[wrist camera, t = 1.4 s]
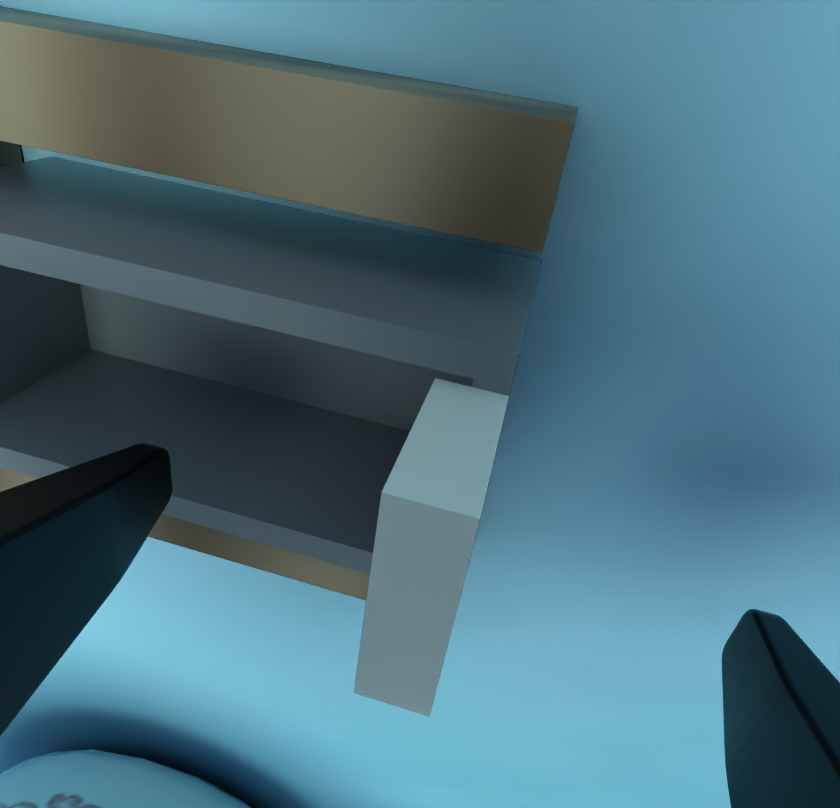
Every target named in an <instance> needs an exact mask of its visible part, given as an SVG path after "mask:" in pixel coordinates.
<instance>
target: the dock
mask: <svg viewBox="0 0 840 808" xmlns="http://www.w3.org/2000/svg"><path fill="white" fill-rule="evenodd" d="M577 109H578V107H573V106H568V105H562V104H556V103H550V102H545V101H539V100H533V99H528V98H522V97H516V96H510V95H505V94H499V93H493V92H487V91H482V90H476V89H470V88H465V87H459V86H453V85H447V84H442V83H436V82H430V81H425V80H419V79H413V78H407V77H402V76H396V75H390V74H384V73H379V72H373V71H367V70H362V69H356V68H350V67H344V66H339V65H333V64H327V63H321V62H316V61H310V60H304V59H299V58H293V57H287V56H281V55H276V54H270V53H264V52H258V51H253V50H247V49H241V48H236V47H230V46H224V45H218V44H213V43H207V42H201V41H196V40H190V39H184V38H178V37H173V36H167V35H161V34H155V33H150V32H144V31H138V30H133V29H127V28H121V27H115V26H110V25H104V24H98V23H92V22H87V21H81V20H75V19H70V18H64V17H58V16H52V15H47V14H41V13H35V12H29V11H24V10H18V9H12V8H7V7H1V6H0V167H4V166H9V165H14V164H19V163H23V159H22V154H21V149H20V145H25V146H29V147H34V148H39V149H44V150H49V151H53V152H58V153H63V154H68V155H73V156H78V157H82V158H87V159H92V160H97V161H102V162H107V163H111V164H116V165H121V166H126V167H131V168H135V169H140V170H145V171H150V172H155V173H160V174H164V175H169V176H174V177H179V178H184V179H188V180H193V181H198V182H203V183H208V184H213V185H217V186H222V187H227V188H232V189H237V190H242V191H246V192H251V193H256V194H261V195H266V196H270V197H275V198H280V199H285V200H290V201H295V202H299V203H304V204H309V205H314V206H319V207H323V208H328V209H333V210H338V211H343V212H348V213H352V214H357V215H362V216H367V217H372V218H377V219H381V220H386V221H391V222H396V223H401V224H405V225H410V226H415V227H420V228H425V229H430V230H434V231H439V232H444V233H449V234H454V235H458V236H463V237H468V238H473V239H478V240H483V241H487V242H492V243H497V244H502V245H507V246H512V247H516V248H521V249H526V250H531V251H536V252H540V253H542V251H543V247H544V243H545V239H546V235H547V231H548V227H549V223H550V219H551V215H552V211H553V207H554V203H555V199H556V195H557V191H558V187H559V183H560V178H561V174H562V170H563V166H564V162H565V158H566V154H567V150H568V146H569V142H570V138H571V134H572V130H573V126H574V122H575V117H576V113H577ZM36 479H38V478H36V477H32V476H29V475H25V474H22V473H18V472H15V471H11V470H8V469H5V468H1V467H0V492H1V491H4V490H7V489H10V488H13V487H16V486H18V485H21V484H24V483H27V482H30V481H33V480H36ZM148 537H151V538H155V539H158V540H162V541H165V542H169V543H172V544H175V545H179V546H182V547H186V548H189V549H192V550H196V551H199V552H203V553H206V554H209V555H213V556H216V557H220V558H223V559H226V560H230V561H233V562H237V563H240V564H243V565H247V566H250V567H254V568H257V569H261V570H264V571H267V572H271V573H274V574H278V575H281V576H284V577H288V578H291V579H295V580H298V581H301V582H305V583H308V584H312V585H315V586H318V587H322V588H325V589H329V590H332V591H335V592H339V593H342V594H346V595H349V596H353V597H356V598H359V599H363V600H367V593H368V586H369V579H370V574H368V573H364V572H361V571H357V570H354V569H350V568H347V567H343V566H340V565H336V564H333V563H330V562H326V561H323V560H319V559H316V558H312V557H309V556H305V555H302V554H298V553H295V552H291V551H288V550H285V549H281V548H278V547H274V546H271V545H267V544H264V543H260V542H257V541H253V540H250V539H247V538H243V537H240V536H236V535H233V534H229V533H226V532H222V531H219V530H215V529H212V528H209V527H205V526H202V525H198V524H195V523H191V522H188V521H184V520H181V519H177V518H174V517H170V516H167V515H164V514H161V516H160V517H159V519H158V521H157V522H156V524H155V525H154V527H153V529H152V530H151V532H150V534H149V535H148Z"/></svg>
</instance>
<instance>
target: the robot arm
mask: <svg viewBox="0 0 840 808" xmlns="http://www.w3.org/2000/svg"><path fill="white" fill-rule="evenodd" d="M172 490H173V485H172V475H171V465H170V456H169V453H168V451H167V450H166V449H165V448H163V447H159V446H156V445H152V444H148V443H139V444H136V445H133V446H130V447H127V448H124V449H121V450H118V451H116V452H113V453H110V454H107V455H104V456H101V457H98V458H96V459H93V460H90V461H87V462H84V463H81V464H78V465H76V466H73V467H70V468H67V469H64V470H61V471H58V472H56V473H53V474H50V475H47V476H44V477H41V478H38V479H36V480H33V481H30V482H27V483H24V484H21V485H18V486H16V487H13V488H10V489H7V490H4V491H1V492H0V736H1V735H2V733H3V732H4V731H5V729H6V728H7V727H8V726H9V724H10V723H11V722H12V720H13V719H14V718H15V716H16V715H17V714H18V713H19V711H20V710H21V709H22V707H23V706H24V705H25V704H26V702H27V701H28V700H29V698H30V697H31V696H32V694H33V693H34V692H35V691H36V689H37V688H38V687H39V685H40V684H41V683H42V681H43V680H44V679H45V678H46V676H47V675H48V674H49V672H50V671H51V670H52V669H53V667H54V666H55V665H56V663H57V662H58V661H59V659H60V658H61V657H62V656H63V654H64V653H65V652H66V650H67V649H68V648H69V647H70V645H71V644H72V643H73V641H74V640H75V639H76V637H77V636H78V635H79V634H80V632H81V631H82V630H83V628H84V627H85V626H86V624H87V623H88V622H89V621H90V619H91V618H92V617H93V615H94V614H95V613H96V612H97V610H98V609H99V608H100V606H101V605H102V604H103V602H104V601H105V600H106V599H107V597H108V596H109V595H110V593H111V592H112V591H113V589H114V588H115V587H116V585H117V584H118V583H119V581H120V580H121V578H122V577H123V575H124V574H125V572H126V571H127V569H128V568H129V566H130V564H131V563H132V561H133V560H134V558H135V556H136V555H137V553H138V551H139V550H140V548H141V547H142V545H143V543H144V542H145V540H146V538H147V537H148V535H149V534H150V532H151V530H152V529H153V527H154V525H155V524H156V522H157V521H158V519H159V517H160V516H161V514H162V512H163V511H164V509H165V508H166V506H167V504H168V503H169V501H170V498H171V495H172ZM722 684H723V715H724V746H725V764H726V774H727V782H728V789H729V796H730V803H731V808H840V682H839V681H838V680H837V679H836V678H835V677H834V676H833V674H832V673H831V672H830V671H829V670H828V669H827V668H826V667H825V665H824V664H823V663H822V662H821V661H820V660H819V659H818V657H817V656H816V655H815V654H814V653H813V652H812V651H811V649H810V648H809V647H808V646H807V645H806V644H805V643H804V641H803V640H802V639H801V638H800V637H799V636H798V635H797V633H796V632H795V631H794V630H793V629H792V628H791V627H790V625H789V624H788V623H787V622H786V621H785V620H784V619H783V618H781V617H780V616H778V615H775V614H771V613H767V612H764V611H760V610H756V609H750V610H748V611H747V612H745V614H744V615H743V616H742V618H741V620H740V621H739V623H738V624H737V626H736V628H735V629H734V631H733V632H732V634H731V636H730V637H729V639H728V640H727V642H726V644H725V646H724V649H723V653H722Z"/></svg>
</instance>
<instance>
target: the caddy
mask: <svg viewBox="0 0 840 808" xmlns="http://www.w3.org/2000/svg"><path fill="white" fill-rule="evenodd" d="M540 265H541V260H537V259H532V258H527V257H523V256H518V255H513V254H508V253H504V252H499V251H494V250H490V249H485V248H480V247H475V246H471V245H466V244H461V243H457V242H452V241H447V240H442V239H438V238H433V237H428V236H424V235H419V234H414V233H409V232H405V231H400V230H395V229H391V228H386V227H381V226H376V225H372V224H367V223H362V222H358V221H353V220H348V219H343V218H339V217H334V216H329V215H325V214H320V213H315V212H310V211H306V210H301V209H296V208H292V207H287V206H282V205H277V204H273V203H268V202H263V201H259V200H254V199H249V198H244V197H240V196H235V195H230V194H226V193H221V192H216V191H211V190H207V189H202V188H197V187H193V186H188V185H183V184H178V183H174V182H169V181H164V180H160V179H155V178H150V177H145V176H141V175H136V174H131V173H127V172H122V171H117V170H112V169H108V168H103V167H98V166H94V165H89V164H84V163H79V162H75V161H70V160H65V159H61V158H56V157H49V158H44V159H39V160H34V161H29V162H24V163H19V164H14V165H9V166H4V167H0V467H1V468H5V469H8V470H11V471H15V472H18V473H22V474H25V475H29V476H32V477H36V478H41V477H44V476H47V475H50V474H53V473H56V472H58V471H61V470H64V469H67V468H70V467H73V466H76V465H78V464H81V463H84V462H87V461H90V460H93V459H96V458H98V457H101V456H104V455H107V454H110V453H113V452H116V451H118V450H121V449H124V448H127V447H130V446H133V445H136V444H139V443H148V444H152V445H156V446H159V447H163V448H165V449H166V450H167V451H168V453H169V456H170V465H171V475H172V485H173V490H172V495H171V498H170V501H169V503H168V504H167V506H166V508H165V509H164V511H163V512H162V514H164V515H167V516H170V517H174V518H177V519H181V520H184V521H188V522H191V523H195V524H198V525H202V526H205V527H209V528H212V529H215V530H219V531H222V532H226V533H229V534H233V535H236V536H240V537H243V538H247V539H250V540H253V541H257V542H260V543H264V544H267V545H271V546H274V547H278V548H281V549H285V550H288V551H291V552H295V553H298V554H302V555H305V556H309V557H312V558H316V559H319V560H323V561H326V562H330V563H333V564H336V565H340V566H343V567H347V568H350V569H354V570H357V571H361V572H364V573H368V574H370V579H369V586H368V593H367V600H366V607H365V615H364V622H363V629H362V636H361V643H360V651H359V658H358V665H357V672H356V680H355V687H354V693H357V694H360V695H363V696H366V697H369V698H372V699H375V700H379V701H382V702H385V703H388V704H391V705H394V706H398V707H401V708H404V709H407V710H410V711H413V712H417V713H420V714H423V715H426V716H429V717H430V713H431V709H432V705H433V701H434V697H435V693H436V689H437V685H438V681H439V678H440V674H441V670H442V666H443V662H444V658H445V654H446V650H447V646H448V642H449V638H450V635H451V631H452V627H453V623H454V619H455V615H456V611H457V607H458V603H459V599H460V596H461V592H462V588H463V584H464V580H465V576H466V572H467V568H468V564H469V560H470V557H471V553H472V549H473V545H474V541H475V537H476V533H477V529H478V525H479V521H480V517H481V513H482V509H483V505H484V500H485V496H486V492H487V488H488V483H489V479H490V475H491V471H492V466H493V462H494V458H495V454H496V449H497V445H498V441H499V437H500V432H501V428H502V424H503V420H504V415H505V411H506V407H507V403H508V398H509V394H510V390H511V386H512V382H513V379H514V375H515V371H516V367H517V363H518V359H519V355H520V351H521V346H522V342H523V338H524V333H525V329H526V325H527V321H528V316H529V312H530V308H531V303H532V299H533V295H534V291H535V286H536V282H537V278H538V273H539V269H540Z"/></svg>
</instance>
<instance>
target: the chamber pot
mask: <svg viewBox="0 0 840 808" xmlns="http://www.w3.org/2000/svg"><path fill="white" fill-rule="evenodd" d="M0 808H251V807H250V806H248V805H247V804H246V803H244V802H243V801H242V800H241V799H239V798H237V797H236V796H234V795H232V794H230V793H228V792H226V791H225V790H223V789H221V788H219V787H217V786H215V785H214V784H212V783H210V782H208V781H206V780H204V779H203V778H200V777H197V776H195V775H192V774H189V773H187V772H184V771H181V770H178V769H176V768H173V767H170V766H168V765H165V764H162V763H158V762H154V761H150V760H146V759H142V758H137V757H131V756H126V755H121V754H115V753H110V752H104V751H99V750H94V749H88V750H73V751H58V752H52V753H48V754H45V755H41V756H37V757H34V758H30V759H27V760H25V761H23V762H21V763H19V764H17V765H15V766H13V767H11V768H9V769H8V770H6V771H4V772H2V773H0Z"/></svg>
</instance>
